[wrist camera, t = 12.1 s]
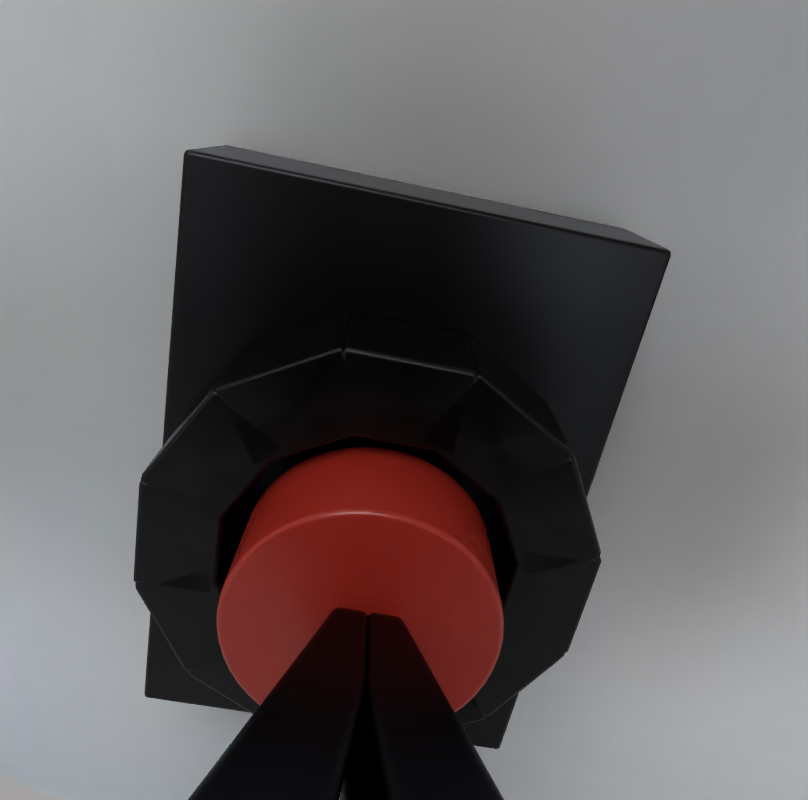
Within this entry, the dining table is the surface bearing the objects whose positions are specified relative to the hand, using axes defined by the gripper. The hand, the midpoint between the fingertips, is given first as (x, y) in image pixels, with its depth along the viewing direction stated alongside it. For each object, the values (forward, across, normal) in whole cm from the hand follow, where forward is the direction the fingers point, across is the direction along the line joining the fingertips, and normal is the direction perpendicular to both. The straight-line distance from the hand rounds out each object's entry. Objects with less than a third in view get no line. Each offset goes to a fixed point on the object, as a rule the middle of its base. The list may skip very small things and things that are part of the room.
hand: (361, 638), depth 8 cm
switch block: (+5, 0, 0) cm, 5 cm away
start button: (+2, 0, 0) cm, 2 cm away
